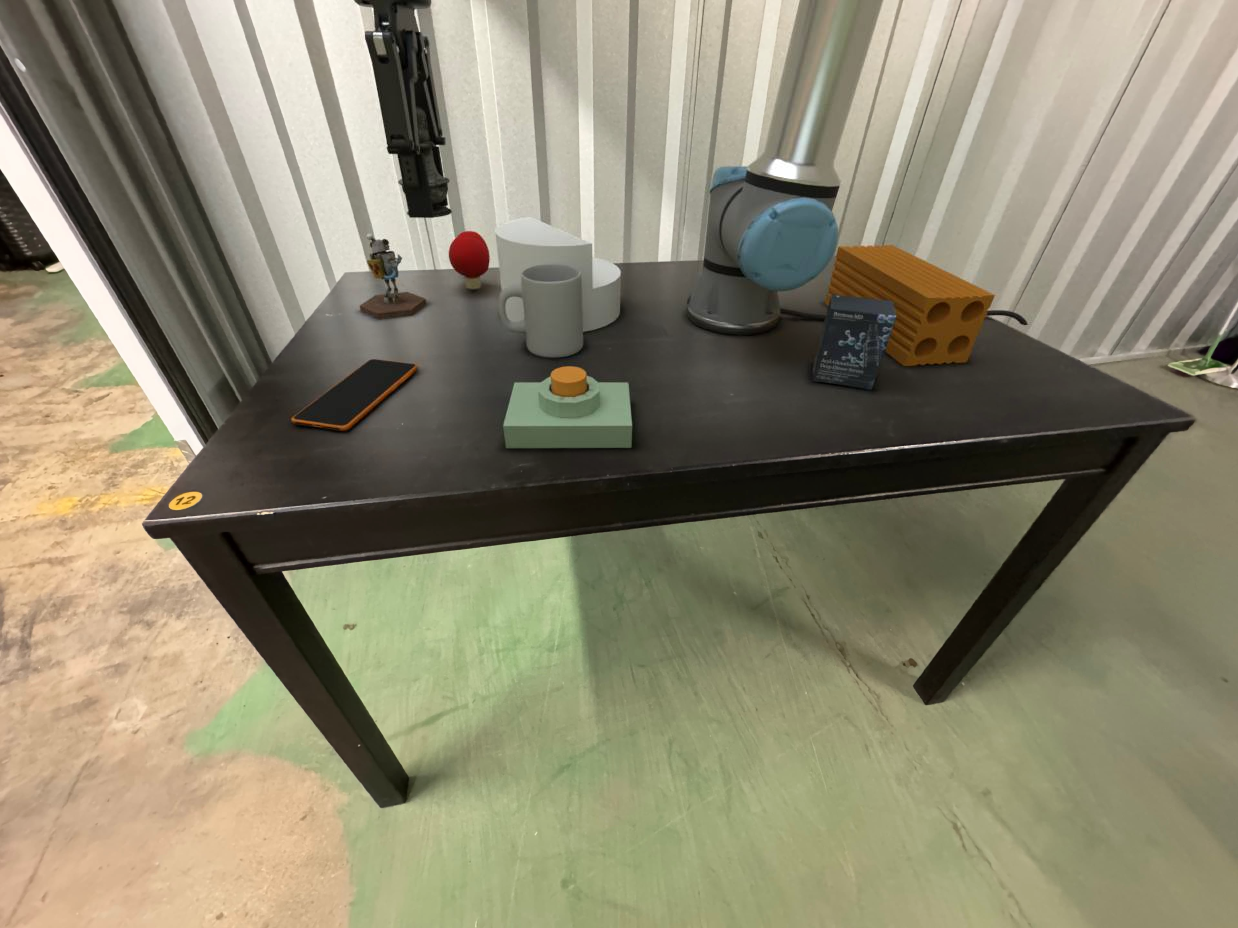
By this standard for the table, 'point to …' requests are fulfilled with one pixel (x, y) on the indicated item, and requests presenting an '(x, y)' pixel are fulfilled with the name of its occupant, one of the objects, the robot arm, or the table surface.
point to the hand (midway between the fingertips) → (429, 210)
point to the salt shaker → (431, 168)
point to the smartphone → (355, 395)
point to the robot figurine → (386, 269)
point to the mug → (548, 309)
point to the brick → (914, 302)
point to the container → (548, 245)
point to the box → (853, 341)
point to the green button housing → (569, 417)
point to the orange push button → (569, 381)
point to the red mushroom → (469, 257)
